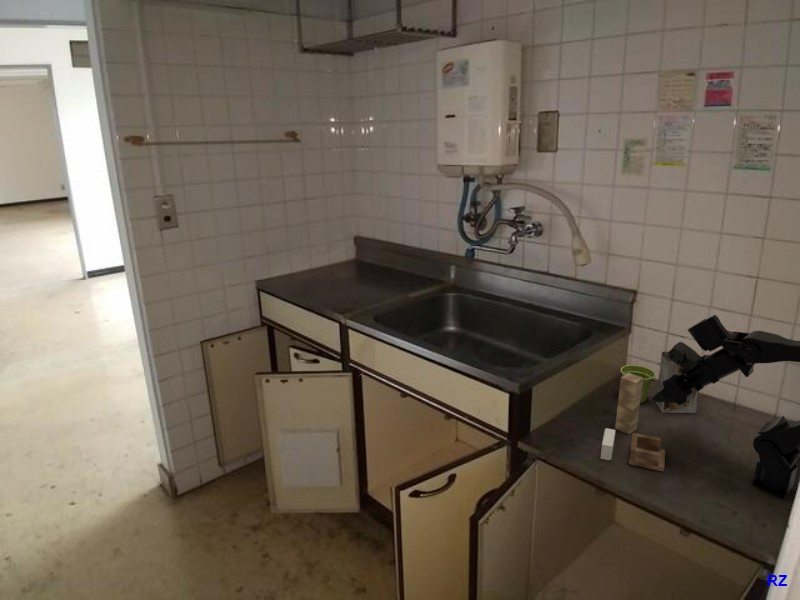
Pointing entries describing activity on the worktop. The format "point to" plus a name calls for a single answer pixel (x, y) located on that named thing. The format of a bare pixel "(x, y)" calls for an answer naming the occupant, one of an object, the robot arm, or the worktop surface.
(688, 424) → the worktop surface
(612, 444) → the white rectangular block
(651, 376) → the plant pot
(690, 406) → the coffee box
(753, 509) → the worktop surface
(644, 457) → the walnut cradle
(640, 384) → the oak peg
